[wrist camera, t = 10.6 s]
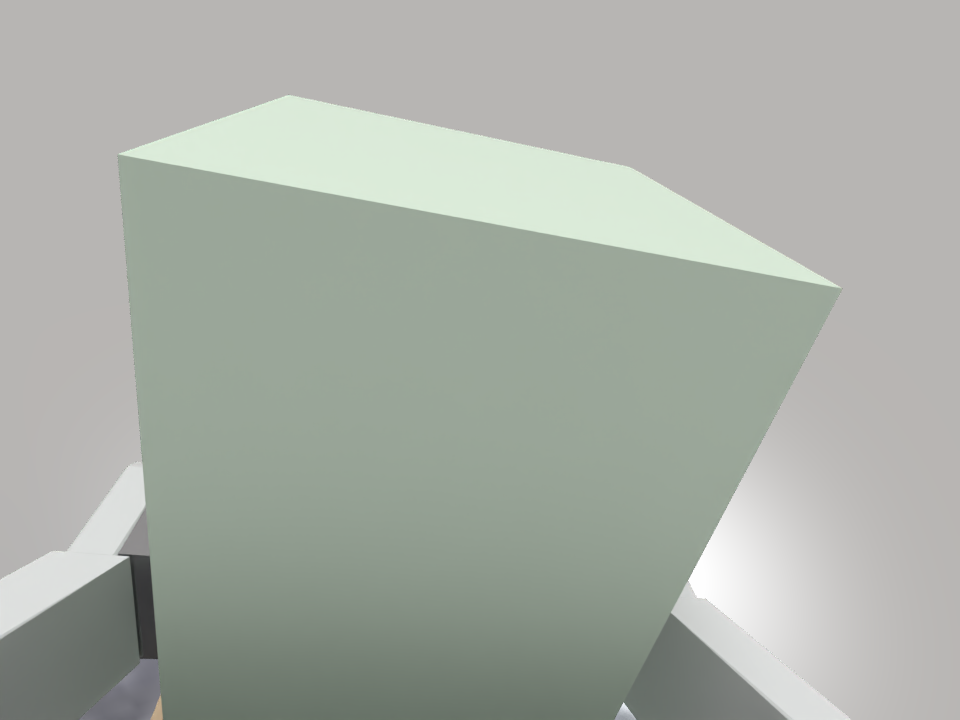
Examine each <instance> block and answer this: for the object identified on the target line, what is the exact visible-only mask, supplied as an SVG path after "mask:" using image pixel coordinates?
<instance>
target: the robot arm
mask: <svg viewBox="0 0 960 720" xmlns="http://www.w3.org/2000/svg"><path fill="white" fill-rule="evenodd" d="M140 659H158V652H157V640H156V627H155V615H154V602H153V590H152V577H151V565H150V552H149V540H148V527H147V515H146V502H145V490H144V477H143V465H142V462H135V463H133V464H131V465H129V466H128V467H127V468H125V470H124V471H123V472H122V474H121V475H120V477H119V478H118V479H117V481H116V482H115V484H114V485H113V486H112V488H111V489H110V491H109V492H108V493H107V495H106V496H105V498H104V499H103V500H102V502H101V503H100V505H99V506H98V507H97V509H96V510H95V512H94V513H93V515H92V516H91V517H90V519H89V520H88V522H87V523H86V524H85V526H84V527H83V528H82V530H81V531H80V533H79V534H78V535H77V537H76V538H75V540H74V541H73V543H72V544H71V545H70V547H69V548H68V550H67V551H66V552H64V551H51V552H50V553H48V554H46V555H44V556H42V557H40V558H39V559H37V560H35V561H33V562H31V563H29V564H27V565H26V566H24V567H22V568H20V569H18V570H16V571H14V572H13V573H11V574H9V575H7V576H5V577H3V578H2V579H0V720H78V719H79V718H81V717H82V716H83V715H84V714H85V713H86V712H87V711H88V710H89V709H90V708H91V707H93V706H94V705H95V704H96V703H97V702H98V701H99V700H100V699H101V698H102V697H103V696H104V695H106V694H107V693H108V692H109V691H110V690H111V689H112V688H113V687H114V686H115V685H116V684H118V683H119V682H120V681H121V680H122V679H123V678H124V677H125V676H126V675H127V674H128V673H130V672H131V671H132V670H133V669H134V668H135V667H136V666H137V665H138V664H139V663H140ZM624 703H625V705H626V706H627V707H628V709H629V710H630V711H631V713H632V714H633V715H634V716H635V718H636V719H637V720H851V719H850V718H849V717H848V716H846V715H845V714H844V713H843V712H842V711H841V710H839V709H838V708H837V707H836V706H834V705H833V704H832V703H831V702H830V701H829V700H827V699H826V698H825V697H824V696H822V695H821V694H820V693H819V692H817V691H816V690H815V689H814V688H813V687H812V686H810V685H809V684H808V683H807V682H806V681H804V680H803V679H802V678H801V677H800V676H798V675H797V674H796V673H795V672H793V671H792V670H791V669H790V668H789V667H788V666H786V665H785V664H784V663H783V662H781V661H780V660H779V659H778V658H776V657H775V656H774V655H773V654H772V653H771V652H769V651H768V650H767V649H766V648H765V647H763V646H762V645H761V644H760V643H759V642H757V641H756V640H755V639H754V638H753V637H751V636H750V635H749V634H748V633H746V632H745V631H744V630H743V629H742V628H741V627H739V626H738V625H737V624H736V623H734V622H733V621H732V620H731V619H730V618H728V617H727V616H726V615H725V614H724V613H722V612H721V611H720V610H719V609H718V608H716V607H715V606H714V605H713V604H711V603H710V602H709V601H708V600H707V599H700V598H696V596H695V594H694V592H693V590H692V588H691V586H690V584H689V582H688V581H687V583H686V585H685V587H684V589H683V591H682V593H681V594H680V596H679V598H678V600H677V602H676V604H675V606H674V608H673V610H672V611H671V613H670V615H669V617H668V619H667V621H666V623H665V625H664V627H663V628H662V630H661V632H660V634H659V636H658V638H657V640H656V642H655V643H654V645H653V647H652V649H651V651H650V653H649V655H648V657H647V659H646V660H645V662H644V664H643V666H642V668H641V670H640V672H639V674H638V676H637V677H636V679H635V681H634V683H633V685H632V687H631V689H630V691H629V693H628V694H627V696H626V698H625V700H624Z"/></svg>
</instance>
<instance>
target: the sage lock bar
mask: <svg viewBox="0 0 960 720" xmlns="http://www.w3.org/2000/svg"><path fill="white" fill-rule="evenodd" d="M118 165H119V176H120V190H121V203H122V215H123V227H124V240H125V252H126V264H127V278H128V290H129V302H130V315H131V327H132V339H133V352H134V365H135V377H136V390H137V402H138V414H139V426H140V440H141V452H142V465H143V477H144V490H145V502H146V515H147V527H148V540H149V552H150V565H151V577H152V590H153V602H154V615H155V627H156V640H157V652H158V665H159V677H160V690H161V702H162V714H163V720H614V719H615V717H616V715H617V713H618V711H619V710H620V708H621V706H622V704H623V702H624V700H625V698H626V696H627V694H628V693H629V691H630V689H631V687H632V685H633V683H634V681H635V679H636V677H637V676H638V674H639V672H640V670H641V668H642V666H643V664H644V662H645V660H646V659H647V657H648V655H649V653H650V651H651V649H652V647H653V645H654V643H655V642H656V640H657V638H658V636H659V634H660V632H661V630H662V628H663V627H664V625H665V623H666V621H667V619H668V617H669V615H670V613H671V611H672V610H673V608H674V606H675V604H676V602H677V600H678V598H679V596H680V594H681V593H682V591H683V589H684V587H685V585H686V583H687V581H688V579H689V577H690V575H691V574H692V572H693V570H694V568H695V566H696V564H697V562H698V560H699V559H700V557H701V555H702V553H703V551H704V549H705V547H706V545H707V543H708V542H709V540H710V538H711V536H712V534H713V532H714V530H715V528H716V527H717V525H718V523H719V521H720V518H721V517H722V515H723V513H724V511H725V510H726V508H727V506H728V504H729V502H730V500H731V498H732V496H733V494H734V493H735V491H736V489H737V487H738V485H739V483H740V481H741V479H742V477H743V476H744V474H745V472H746V470H747V468H748V466H749V464H750V462H751V460H752V459H753V457H754V455H755V453H756V451H757V449H758V447H759V445H760V444H761V442H762V440H763V438H764V436H765V434H766V432H767V430H768V428H769V426H770V425H771V423H772V421H773V419H774V417H775V415H776V413H777V411H778V410H779V408H780V406H781V404H782V402H783V400H784V398H785V396H786V394H787V393H788V390H789V389H790V387H791V385H792V383H793V381H794V379H795V377H796V375H797V374H798V372H799V370H800V368H801V366H802V364H803V362H804V361H805V359H806V357H807V355H808V353H809V351H810V349H811V347H812V345H813V343H814V342H815V340H816V338H817V336H818V334H819V332H820V330H821V328H822V327H823V324H824V323H825V321H826V319H827V317H828V315H829V313H830V311H831V310H832V308H833V305H834V304H835V302H836V300H837V298H838V296H839V295H840V293H841V291H842V288H841V287H839V286H837V285H835V284H834V283H832V282H830V281H829V280H827V279H825V278H823V277H822V276H820V275H818V274H816V273H815V272H813V271H811V270H809V269H807V268H806V267H804V266H802V265H801V264H799V263H797V262H795V261H794V260H792V259H790V258H788V257H787V256H785V255H783V254H781V253H780V252H778V251H776V250H774V249H772V248H771V247H769V246H767V245H766V244H764V243H762V242H760V241H759V240H757V239H755V238H753V237H752V236H750V235H748V234H746V233H745V232H743V231H741V230H739V229H738V228H736V227H734V226H732V225H731V224H729V223H727V222H725V221H724V220H722V219H720V218H718V217H717V216H715V215H713V214H711V213H710V212H708V211H706V210H704V209H703V208H701V207H699V206H697V205H696V204H694V203H692V202H690V201H689V200H687V199H685V198H683V197H681V196H680V195H678V194H676V193H675V192H673V191H671V190H669V189H668V188H666V187H664V186H662V185H660V184H659V183H657V182H655V181H654V180H652V179H650V178H648V177H647V176H645V175H643V174H641V173H640V172H638V171H636V170H634V169H633V168H631V167H627V166H622V165H618V164H613V163H608V162H603V161H598V160H594V159H589V158H584V157H580V156H575V155H570V154H565V153H561V152H556V151H551V150H546V149H542V148H537V147H533V146H528V145H523V144H518V143H514V142H509V141H504V140H500V139H494V138H490V137H485V136H481V135H476V134H471V133H467V132H462V131H457V130H452V129H447V128H443V127H438V126H433V125H428V124H424V123H419V122H414V121H410V120H404V119H400V118H396V117H390V116H386V115H381V114H377V113H372V112H367V111H363V110H358V109H353V108H349V107H344V106H339V105H334V104H329V103H325V102H320V101H315V100H311V99H306V98H301V97H296V96H292V95H287V96H284V97H281V98H279V99H276V100H273V101H270V102H267V103H264V104H261V105H258V106H256V107H253V108H250V109H247V110H244V111H241V112H238V113H236V114H233V115H230V116H227V117H224V118H221V119H218V120H215V121H212V122H209V123H207V124H204V125H201V126H198V127H195V128H192V129H189V130H186V131H183V132H181V133H178V134H175V135H172V136H169V137H166V138H163V139H160V140H158V141H155V142H152V143H149V144H146V145H143V146H140V147H137V148H134V149H131V150H128V151H126V152H123V153H120V154H118Z"/></svg>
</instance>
